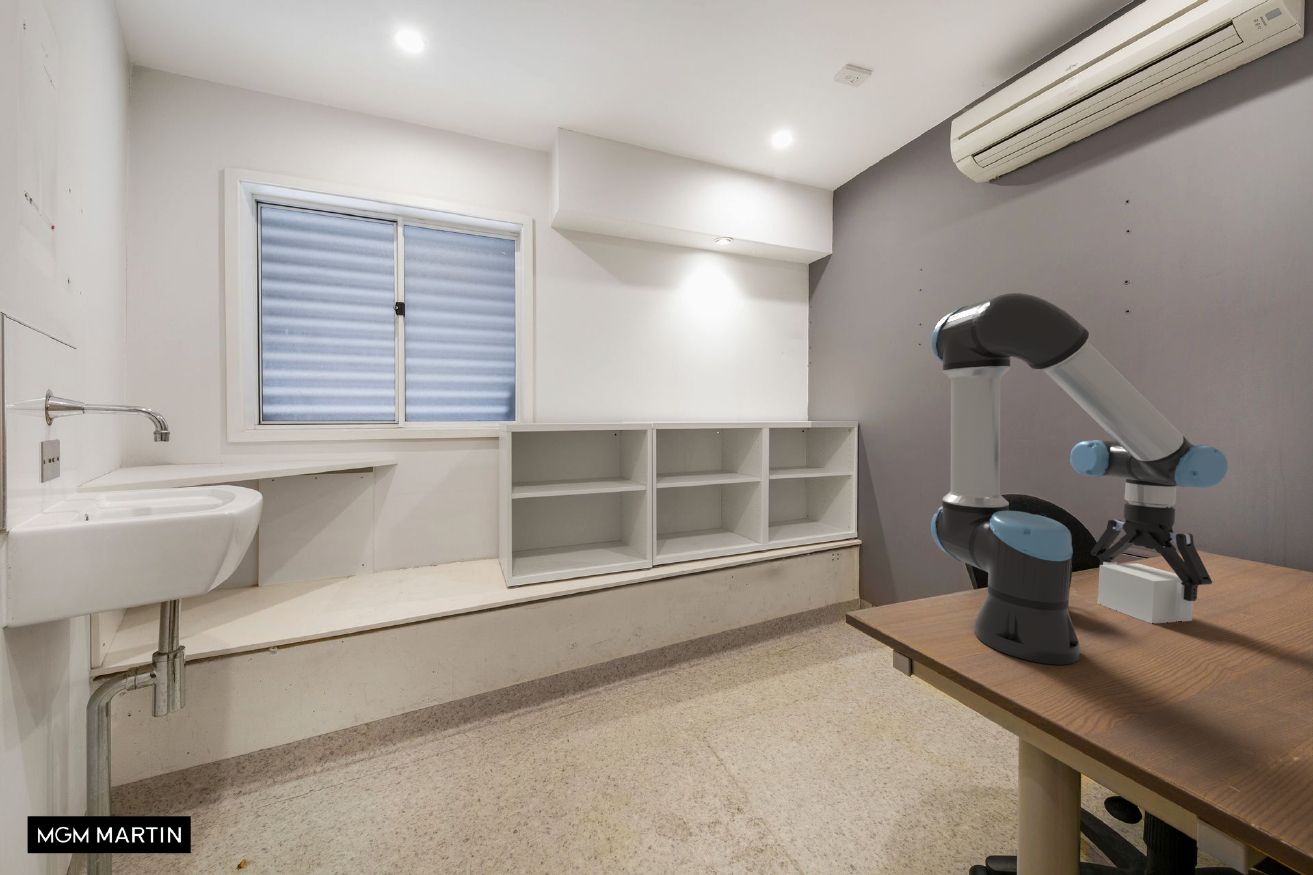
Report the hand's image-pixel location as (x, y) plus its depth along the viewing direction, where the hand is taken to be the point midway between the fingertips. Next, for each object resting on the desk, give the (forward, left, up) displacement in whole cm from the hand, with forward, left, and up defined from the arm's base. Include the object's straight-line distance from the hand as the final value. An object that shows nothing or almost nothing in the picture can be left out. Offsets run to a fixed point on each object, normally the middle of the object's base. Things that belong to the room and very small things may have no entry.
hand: (1143, 601), depth 102 cm
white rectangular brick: (0, 0, -2) cm, 2 cm away
